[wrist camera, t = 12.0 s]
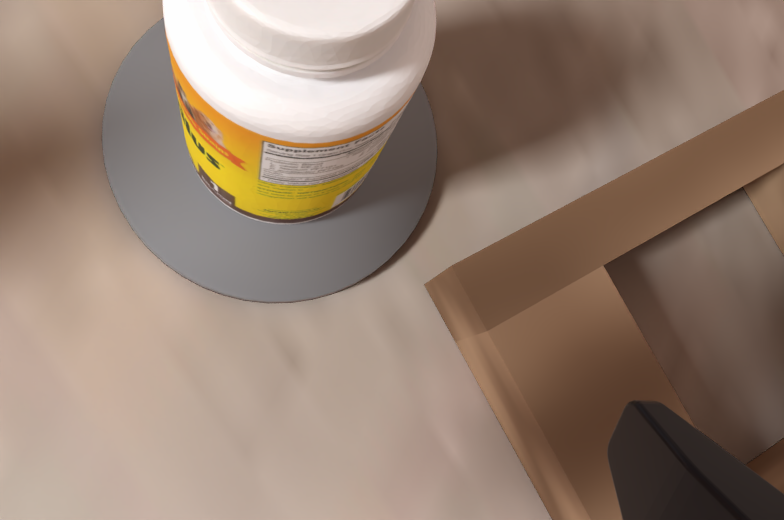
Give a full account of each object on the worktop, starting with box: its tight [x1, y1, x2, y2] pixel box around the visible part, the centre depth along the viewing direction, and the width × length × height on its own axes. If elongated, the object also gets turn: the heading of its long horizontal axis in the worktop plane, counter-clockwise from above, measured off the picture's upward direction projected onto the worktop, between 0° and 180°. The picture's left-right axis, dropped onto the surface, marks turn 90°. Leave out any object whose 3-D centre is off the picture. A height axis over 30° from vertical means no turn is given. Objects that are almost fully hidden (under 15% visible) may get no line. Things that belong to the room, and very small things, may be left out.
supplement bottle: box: [163, 0, 436, 224], centre depth 18 cm, size 6×6×10 cm
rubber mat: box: [102, 17, 437, 303], centre depth 23 cm, size 10×10×1 cm
